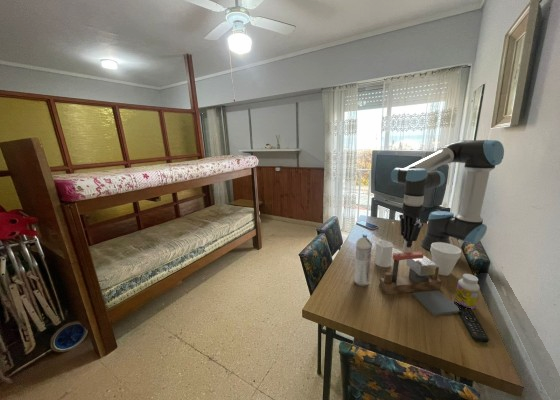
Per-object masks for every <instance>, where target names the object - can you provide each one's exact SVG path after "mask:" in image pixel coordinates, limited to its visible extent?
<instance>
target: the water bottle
mask: <svg viewBox="0 0 560 400" xmlns="http://www.w3.org/2000/svg"><path fill="white" fill-rule="evenodd" d="M355 245H356V247H355V258H354V259H355V260H354V271H353V272H354V275H353V280H354V282H355V284H357V285H359V286H361V287H362V286H363V287H365V286H368V285H369V283H370V272H371V263H372V261H371V260H372V259H371V257H372V248H373V243H372V241H371V240H370V238H368V235H367V234H366V233H362V237H360V238H358V240H357V241H356V244H355Z"/></svg>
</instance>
